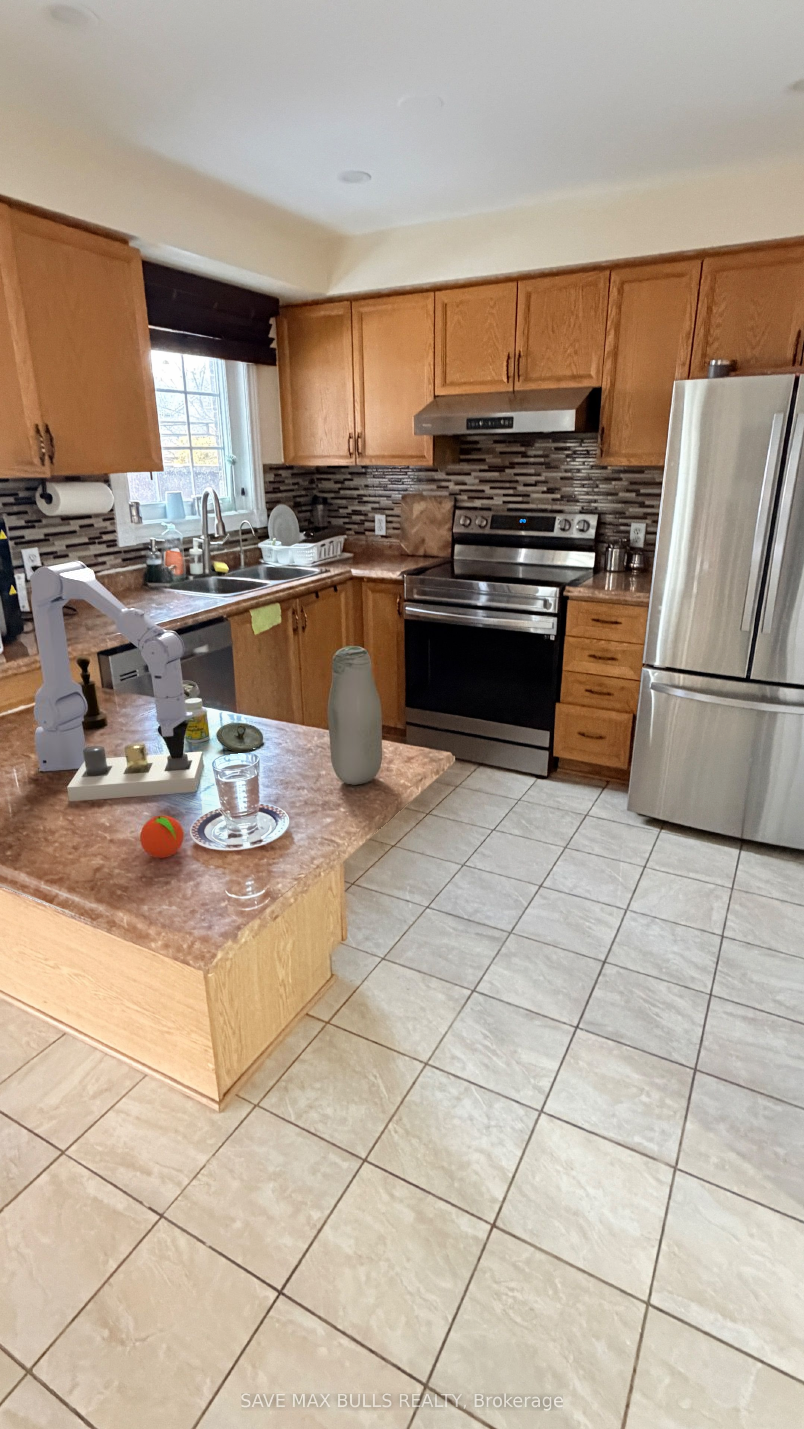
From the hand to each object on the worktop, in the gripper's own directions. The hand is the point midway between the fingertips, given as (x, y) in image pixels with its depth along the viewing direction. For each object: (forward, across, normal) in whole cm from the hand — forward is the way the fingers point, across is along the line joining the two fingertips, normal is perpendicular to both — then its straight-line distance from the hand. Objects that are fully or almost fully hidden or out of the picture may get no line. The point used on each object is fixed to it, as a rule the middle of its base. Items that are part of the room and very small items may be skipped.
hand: (177, 757), depth 153 cm
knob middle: (+2, 0, +8) cm, 8 cm away
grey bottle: (+5, -8, -36) cm, 37 cm away
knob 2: (+5, 0, 0) cm, 5 cm away
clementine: (+5, -32, -2) cm, 32 cm away
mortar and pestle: (+5, +38, +26) cm, 46 cm away
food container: (+5, +36, +3) cm, 37 cm away
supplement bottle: (+5, +23, -1) cm, 24 cm away
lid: (+5, +17, -11) cm, 21 cm away
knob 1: (+2, 0, +16) cm, 16 cm away
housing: (+5, 0, +8) cm, 9 cm away
